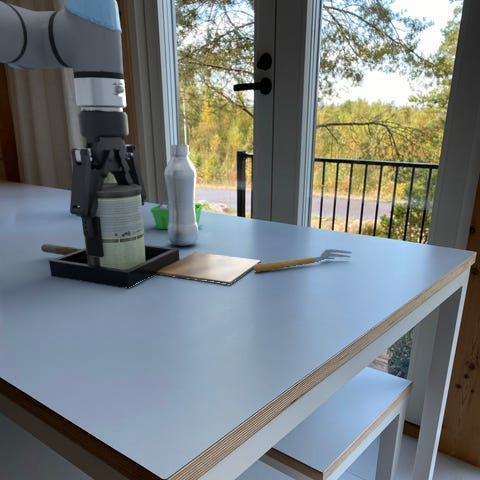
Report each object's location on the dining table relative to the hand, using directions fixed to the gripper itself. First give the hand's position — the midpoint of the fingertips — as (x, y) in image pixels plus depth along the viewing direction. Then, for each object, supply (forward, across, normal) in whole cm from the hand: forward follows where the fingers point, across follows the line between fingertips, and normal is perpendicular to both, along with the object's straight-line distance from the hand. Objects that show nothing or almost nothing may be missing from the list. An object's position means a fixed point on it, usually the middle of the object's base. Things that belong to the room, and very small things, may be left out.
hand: (115, 248), depth 83 cm
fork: (+4, +15, -30) cm, 34 cm away
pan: (+4, 0, +5) cm, 6 cm away
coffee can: (+4, 0, 0) cm, 4 cm away
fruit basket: (+4, +35, +8) cm, 36 cm away
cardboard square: (+4, +7, -15) cm, 17 cm away
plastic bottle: (+4, +20, -2) cm, 20 cm away
